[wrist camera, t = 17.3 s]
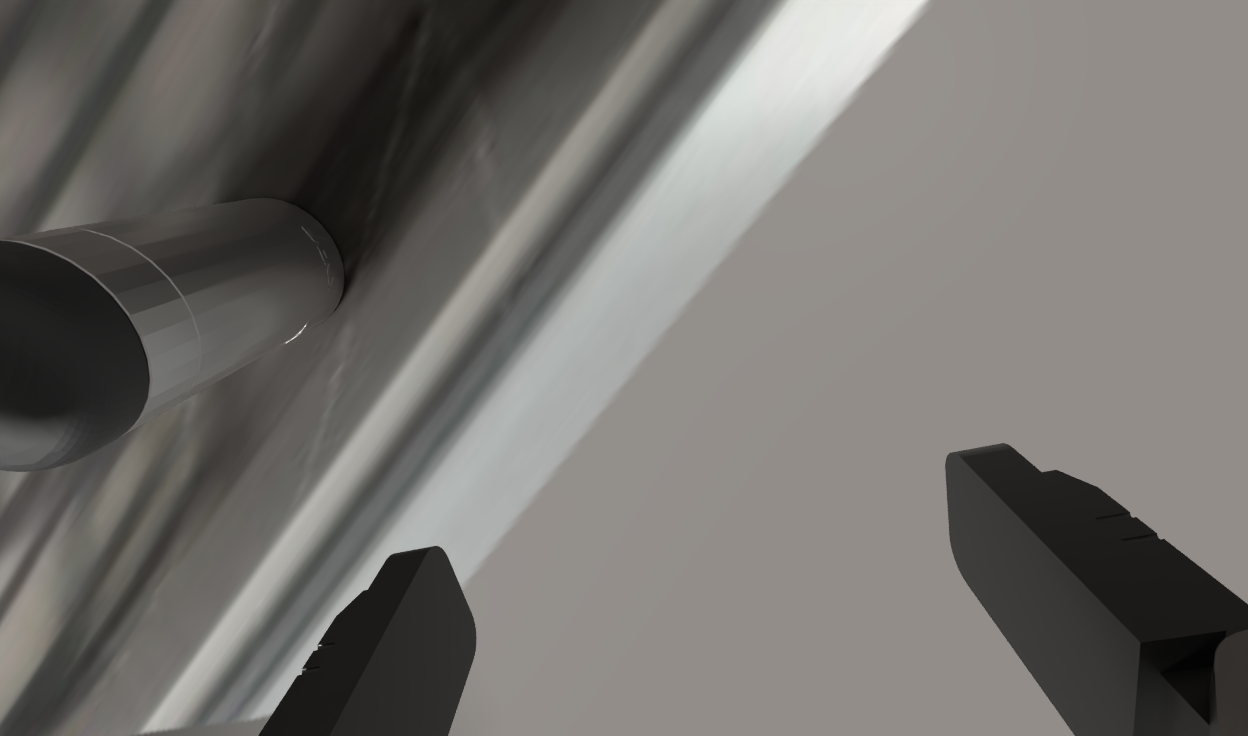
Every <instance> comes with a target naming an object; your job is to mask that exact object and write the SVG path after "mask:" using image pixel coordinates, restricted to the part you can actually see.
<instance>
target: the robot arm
mask: <svg viewBox="0 0 1248 736" xmlns="http://www.w3.org/2000/svg"><path fill="white" fill-rule="evenodd" d="M343 287H344V270H343V264H342V260H341V257H340V254H339V251H338V249H337V247H336V245H335V243H334V241H333V239H332V238H331V236H330V235H329V234H328V232H327V231H326V230H325V229H324V227H323V226H322V225H321V224H320V223H319V222H318V221H317V220H316V219H314V218H313V217H312V216H311V215H310V214H308V213H307V212H305V211H304V210H302V209H300V208H299V207H297V206H295V205H292V204H290V203H287V202H285V201H282V200H277V199H271V198H253V199H246V200H240V201H233V202H227V203H221V204H213V205H206V206H200V207H194V208H187V209H181V210H175V211H168V212H162V213H156V214H150V215H143V216H137V217H131V218H124V219H118V220H112V221H106V222H99V223H93V224H87V225H80V226H74V227H68V228H62V229H55V230H49V231H45V232H39V233H32V234H26V235H20V236H13V237H7V238H1V239H0V470H4V471H15V472H27V471H41V470H47V469H51V468H55V467H59V466H63V465H66V464H69V463H72V462H74V461H76V460H79V459H81V458H83V457H85V456H87V455H89V454H91V453H93V452H95V451H96V450H98V449H100V448H102V447H103V446H105V445H107V444H109V443H110V442H112V441H114V440H116V439H117V438H119V437H121V436H123V435H124V434H126V433H128V432H130V431H131V430H133V429H135V428H137V427H138V426H140V425H142V424H144V423H146V422H147V421H149V420H151V419H153V418H154V417H156V416H158V415H160V414H161V413H163V412H165V411H167V410H168V409H170V408H171V407H173V406H175V405H177V404H178V403H180V402H182V401H184V400H185V399H187V398H189V397H191V396H193V395H194V394H196V393H198V392H200V391H201V390H203V389H205V388H207V387H208V386H210V385H212V384H214V383H216V382H217V381H219V380H221V379H223V378H224V377H226V376H228V375H230V374H231V373H233V372H235V371H237V370H239V369H240V368H242V367H244V366H246V365H247V364H249V363H251V362H253V361H254V360H256V359H258V358H260V357H262V356H263V355H265V354H267V353H269V352H270V351H272V350H274V349H276V348H277V347H279V346H281V345H283V344H284V343H287V342H288V341H290V340H292V339H294V338H295V337H297V336H299V335H301V334H303V333H304V332H306V331H308V330H310V329H311V328H313V327H315V326H317V325H318V324H320V323H322V322H323V321H324V320H326V319H327V318H328V317H329V316H330V315H331V314H332V313H333V312H334V310H335V309H336V307H337V306H338V304H339V302H340V299H341V296H342V294H343ZM945 469H946V485H947V501H948V518H949V534H950V542H951V548H952V552H953V555H954V558H955V561H956V563H957V566H958V568H959V571H960V572H961V574H962V576H963V578H964V580H965V581H966V583H967V584H968V586H969V587H970V589H971V590H972V591H973V593H974V594H975V596H976V597H977V598H978V600H979V601H980V603H981V604H982V606H983V607H984V608H985V610H986V611H987V612H988V614H989V615H990V617H991V618H992V620H993V621H994V622H995V624H996V625H997V626H998V628H999V629H1000V631H1001V632H1002V634H1003V635H1004V636H1005V638H1006V639H1007V641H1008V642H1009V643H1010V645H1011V646H1012V648H1013V649H1014V650H1015V652H1016V653H1017V655H1018V656H1019V658H1020V659H1021V660H1022V662H1023V663H1024V665H1025V666H1026V667H1027V669H1028V670H1029V672H1030V673H1031V674H1032V676H1033V677H1034V679H1035V680H1036V681H1037V683H1038V684H1039V686H1040V687H1041V689H1042V690H1043V691H1044V693H1045V694H1046V696H1047V697H1048V698H1049V700H1050V701H1051V703H1052V704H1053V705H1054V706H1055V708H1056V710H1057V711H1058V712H1059V714H1060V715H1061V717H1062V718H1063V719H1064V721H1065V722H1066V724H1067V725H1068V726H1069V728H1070V729H1071V731H1072V732H1073V734H1074V735H1075V736H1248V604H1247V603H1245V602H1244V601H1243V600H1241V599H1240V598H1239V597H1238V596H1236V595H1235V594H1234V593H1232V592H1231V591H1230V590H1229V589H1227V588H1226V587H1225V586H1224V585H1222V584H1221V583H1220V582H1218V581H1217V580H1216V579H1215V578H1213V577H1212V576H1211V575H1210V574H1208V573H1207V572H1206V571H1204V570H1203V569H1202V568H1201V567H1199V566H1198V565H1197V564H1195V563H1194V562H1193V561H1191V560H1190V559H1189V558H1188V557H1187V556H1185V555H1184V554H1183V553H1181V552H1180V551H1179V550H1177V549H1176V548H1175V547H1174V546H1172V545H1171V544H1170V543H1168V542H1167V541H1166V540H1165V539H1162V540H1160V539H1159V538H1158V536H1157V533H1155V532H1154V531H1153V530H1152V529H1151V528H1149V527H1148V526H1147V525H1146V524H1144V523H1143V522H1141V521H1140V520H1139V519H1138V518H1137V517H1135V518H1132V517H1131V515H1130V512H1129V511H1128V510H1126V509H1125V508H1124V507H1122V506H1121V505H1120V504H1119V503H1117V502H1116V501H1115V500H1113V499H1112V498H1111V497H1110V496H1108V495H1107V494H1106V493H1104V492H1103V491H1102V490H1101V489H1099V488H1098V487H1096V486H1093V485H1091V484H1089V483H1086V482H1084V481H1082V480H1079V479H1077V478H1074V477H1072V476H1070V475H1067V474H1065V473H1063V472H1060V471H1058V470H1053V471H1047V472H1041V471H1039V470H1038V469H1037V468H1036V467H1035V466H1033V465H1032V464H1031V463H1030V462H1029V461H1028V460H1026V459H1025V458H1024V457H1023V456H1022V455H1021V454H1019V453H1018V452H1017V451H1016V450H1015V449H1014V448H1012V447H1011V446H1009V445H1008V444H1005V443H1002V444H996V445H990V446H985V447H980V448H975V449H969V450H963V451H958V452H953V453H949V454H948V456H947V458H946V464H945ZM475 650H476V628H475V623H474V619H473V616H472V613H471V611H470V609H469V606H468V604H467V602H466V599H465V597H464V594H463V592H462V590H461V587H460V585H459V582H458V580H457V578H456V575H455V573H454V571H453V568H452V566H451V564H450V561H449V559H448V557H447V555H446V553H445V551H444V550H443V549H442V548H440V547H438V546H433V547H427V548H422V549H417V550H411V551H406V552H400V553H395V554H392V555H391V556H389V557H388V559H387V560H386V561H385V563H384V565H383V566H382V568H381V569H380V571H379V573H378V574H377V576H376V577H375V579H374V581H373V582H372V584H371V585H370V587H369V589H368V590H365V591H363V592H362V593H360V594H359V595H358V596H357V597H356V598H355V599H354V600H353V601H352V602H351V603H350V604H349V605H348V606H347V607H346V608H345V609H344V610H343V611H342V612H340V613H339V614H338V615H337V616H336V618H335V619H334V621H333V622H332V624H331V625H330V627H329V628H328V630H327V631H326V633H325V634H324V636H323V637H322V639H321V641H320V642H319V644H318V650H316V651H313V653H312V654H311V656H310V657H309V659H308V660H307V662H306V664H305V665H304V667H303V668H302V675H298V676H297V677H296V679H295V680H294V682H293V683H292V685H291V687H290V688H289V690H288V691H287V693H286V694H285V696H284V697H283V699H282V700H281V702H280V703H279V705H278V706H277V708H276V710H275V711H274V713H273V714H272V716H271V717H270V719H269V720H268V722H267V723H266V725H265V726H264V728H263V729H262V731H261V732H260V734H259V736H448V734H449V731H450V728H451V724H452V722H453V719H454V716H455V713H456V710H457V707H458V704H459V701H460V698H461V695H462V692H463V689H464V686H465V683H466V680H467V677H468V674H469V671H470V668H471V665H472V662H473V659H474V655H475Z"/></svg>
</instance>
